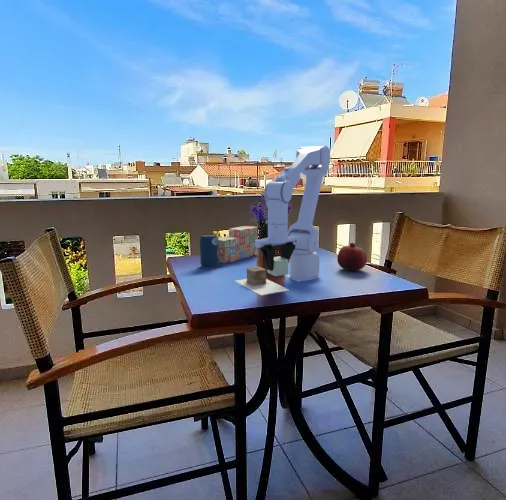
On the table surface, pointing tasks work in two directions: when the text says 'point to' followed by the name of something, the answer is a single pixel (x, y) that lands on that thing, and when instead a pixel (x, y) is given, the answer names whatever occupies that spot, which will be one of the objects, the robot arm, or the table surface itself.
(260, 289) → the build mat
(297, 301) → the table surface
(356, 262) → the fruit
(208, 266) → the soda can
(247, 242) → the stack of blocks
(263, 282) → the walnut block
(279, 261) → the sage block
